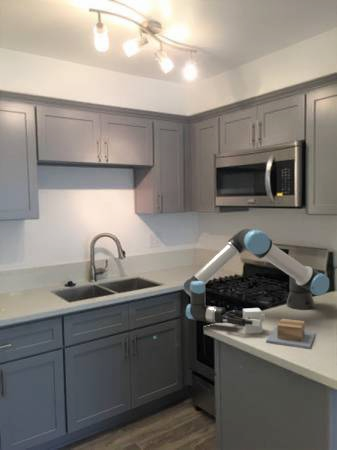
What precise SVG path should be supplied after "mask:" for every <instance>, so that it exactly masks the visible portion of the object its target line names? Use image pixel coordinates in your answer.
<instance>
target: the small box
mask: <svg viewBox="0 0 337 450" xmlns="http://www.w3.org/2000/svg"><path fill="white" fill-rule="evenodd" d="M242 311H243V319H245V320H246V318H247V319H255V320H260V326H253V325H246V324H245V326H242V330H243V332H244V333H245V334H247V335H248V334H249V335H251V334H262V333H263V320H262V314H263V311H262V310H261V309H260V308H259V307H252V308H250V307H249V308H242Z"/></svg>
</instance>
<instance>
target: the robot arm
mask: <svg viewBox="0 0 337 450" xmlns="http://www.w3.org/2000/svg"><path fill="white" fill-rule="evenodd" d="M244 252H247V253H248V252H249V254H251V255H253V256H254V257H256V258H258V259H264V260H265V261H268V262H269V263H270V264H272V265H273V266H275V267H276V268H278V269H279V270H280V271H282V272H284V274H286V275H288V276H289V293H288V296H287V300H286V306H287V307H288V308H290V309H294V310H311V309H314V308H315V300H314V298H313V295H314V296H322V295H324V294H326V292H327V291H328V290H329V288H330V279H329V277H328V276H327V275H326V274H324V273H321V272H318V271H317V270H316V269H314V268H313V267H311V266H308V265H303V264H302V263H300V262H299V261H298V260H296V259H295V258H293V256H291V255H289V254H287V253H286V252H284V250H281V249H280V248H279V247H277V246H276V245H275V244H274V242H273V240H272V239H271V238H269V235H267V233H265V232H264V231H262V230H260V229H259V230H257V229H250V228H244V229H241V230H239V231H237V232H236V233H235V234H234V235H233V236H232V237H231V238H229V240H228V241H226V245H225V246H224V247H223V248H222V249H221V250H219V252H217V253H216V254H215V255H214V256H213V257H212V258H211V259H210V260H209V261H208V262H207V263H205V264H204V266H202V268H200V269H199V270H198V271H197V272H196V273H195V274H194V275H193V276H192V277H191V278H187V279H185V280H184V281H183V283H182V289H183V291H184V292H185V293H186V294H187V295H188V296H189V297H190V303H188V304H187V306H186V309H185V315H186V318H187V319H189V320H194V321H203V322H210V324H211V323H218V324H230V325H233V326H234V325H236V326H241V327H243V326H245V324H246V325H253V326H260V320H255V319H247V318H246V320H245V319H243V310H234V309H231V310H229V311H226V308H225V307H220V306H214V305H213V306H211V305H206V289H207V288H206V284H207V283H208V282H210V280H211V279H212V278H213V277H215V275H217V274H218V272H220V271H221V270H222V269H223V268H224V267H226V265H227V264H228V263H229V262H230V261H232V260H233V259H234V258H235V257H236V256H240V255H241V254H242V253H244ZM262 321H266V314H265V313H264V314H263V313H262Z"/></svg>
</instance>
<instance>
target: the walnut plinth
mask: <svg viewBox="0 0 337 450" xmlns="http://www.w3.org/2000/svg"><path fill="white" fill-rule="evenodd" d="M305 323H306V322H305V320H298V319H289V318H288V319H287V318H281V319H280V320H279V321H278V324H277V327H276V328H277V338H278V339H285V340H292V341H299V342H301V341H302V339H303V337H304V334H305V331H306V330H305V326H306V325H305Z"/></svg>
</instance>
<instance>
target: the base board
mask: <svg viewBox="0 0 337 450" xmlns="http://www.w3.org/2000/svg"><path fill="white" fill-rule="evenodd" d="M315 336H316V332H313V331H308V330H307V331H306V330H305V334H304V337H303V339H302V341H301V342H299V341H292V340H285V339H278V338H277V327H274V328H273V329H272V331H271V333H270V334H269V336H268V337H267V339H266V340H265V342H266V343H268V344H274V345H281V346H287V347H295V348H300V349H301V348H302V349H308V350H310V349H311V346H312V344H313V342H314V338H315Z"/></svg>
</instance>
